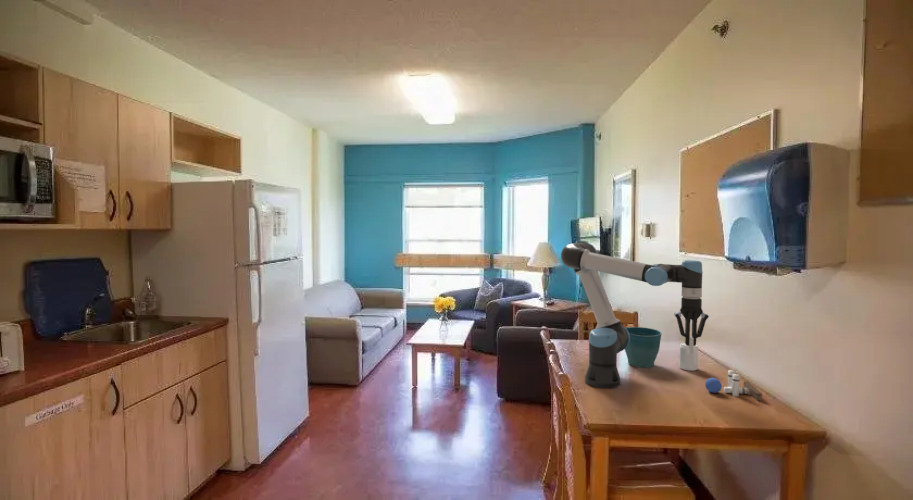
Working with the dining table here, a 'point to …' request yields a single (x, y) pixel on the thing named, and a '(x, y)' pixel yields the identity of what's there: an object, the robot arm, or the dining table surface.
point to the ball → (713, 385)
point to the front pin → (741, 390)
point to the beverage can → (688, 358)
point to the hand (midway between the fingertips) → (690, 353)
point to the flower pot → (643, 346)
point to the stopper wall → (753, 391)
